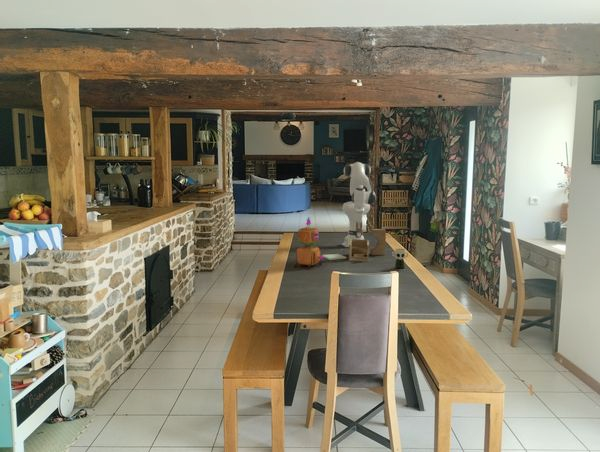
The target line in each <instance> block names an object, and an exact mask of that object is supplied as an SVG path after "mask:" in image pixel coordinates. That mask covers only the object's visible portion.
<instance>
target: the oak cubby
mask: <svg viewBox="0 0 600 452" xmlns="http://www.w3.org/2000/svg"><path fill="white" fill-rule="evenodd" d="M369 255H370V239H364V240H362V239H350V243H349V247H348V261H350V262H369V260H370V259H369V257H370V256H369Z"/></svg>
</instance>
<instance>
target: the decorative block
mask: <svg viewBox="0 0 600 452" xmlns="http://www.w3.org/2000/svg"><path fill="white" fill-rule="evenodd" d="M370 235H371V237H375V238H376V239H377V243H376V245H375V246H373V247H371V248H370V247H369V255H371V256H386V246H387V245H386V244H387V243H386V242H387V241H386V240H387V237H386V236H387V230H386V229H385V228H371V229H370Z"/></svg>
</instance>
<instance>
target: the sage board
mask: <svg viewBox="0 0 600 452" xmlns="http://www.w3.org/2000/svg"><path fill="white" fill-rule="evenodd" d="M321 256H322V257H323V259H327V260H329V261H333V260H346V259H347V256H345V255H342V254H340V253H334V254H332V253H331V254H330V253H329V254H322V255H321Z"/></svg>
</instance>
